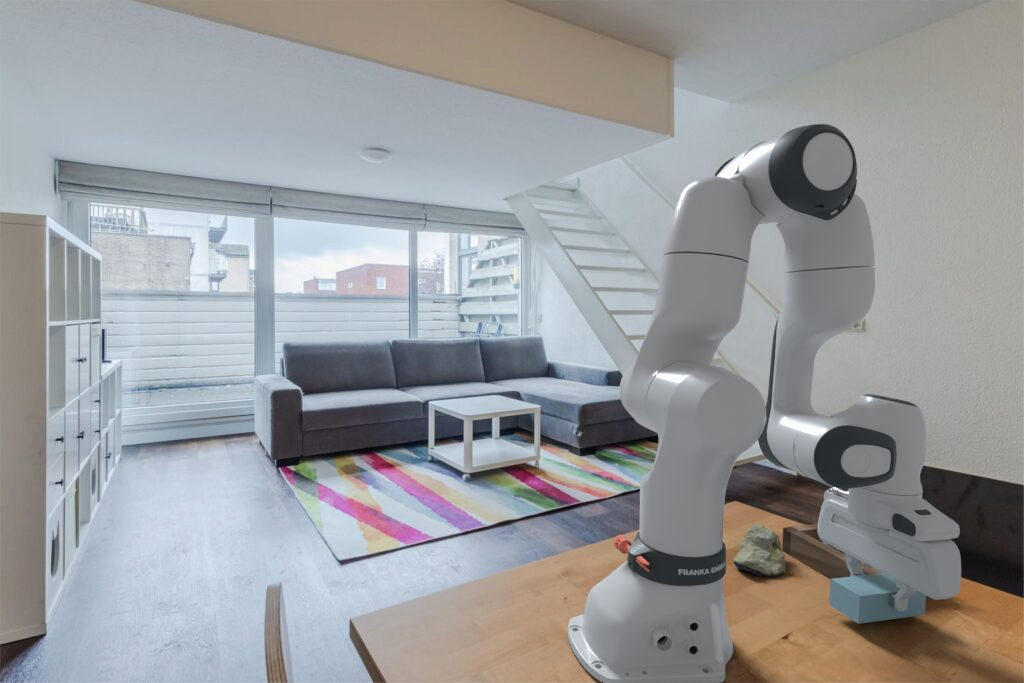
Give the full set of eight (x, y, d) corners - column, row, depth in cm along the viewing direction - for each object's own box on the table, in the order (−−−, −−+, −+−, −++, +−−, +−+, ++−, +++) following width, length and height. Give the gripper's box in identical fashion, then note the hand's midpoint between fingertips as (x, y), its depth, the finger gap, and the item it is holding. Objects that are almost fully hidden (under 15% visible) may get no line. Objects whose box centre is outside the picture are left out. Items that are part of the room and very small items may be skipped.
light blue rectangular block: (858, 623, 75) (860, 596, 75) (829, 604, 80) (830, 578, 80) (924, 614, 78) (926, 588, 78) (892, 596, 83) (894, 571, 83)
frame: (871, 603, 83) (873, 575, 83) (782, 550, 102) (783, 527, 102) (935, 592, 87) (936, 565, 86) (837, 543, 105) (838, 521, 105)
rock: (741, 584, 92) (801, 578, 91) (736, 548, 92) (796, 541, 91) (722, 557, 102) (776, 551, 101) (718, 524, 102) (771, 518, 101)
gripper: (810, 483, 88) (805, 565, 88) (935, 534, 68) (928, 639, 68) (841, 482, 89) (836, 562, 90) (973, 531, 69) (965, 634, 70)
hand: (877, 596), depth 79 cm, fingers closed on light blue rectangular block, 5 cm apart
